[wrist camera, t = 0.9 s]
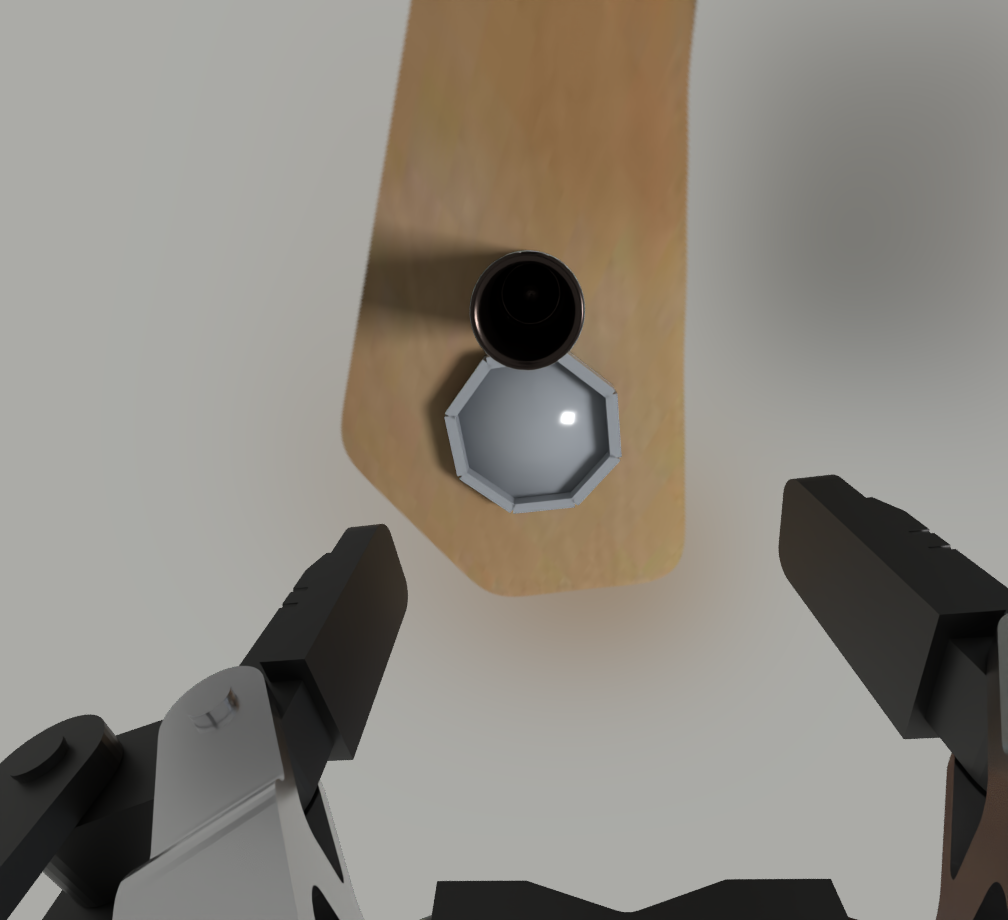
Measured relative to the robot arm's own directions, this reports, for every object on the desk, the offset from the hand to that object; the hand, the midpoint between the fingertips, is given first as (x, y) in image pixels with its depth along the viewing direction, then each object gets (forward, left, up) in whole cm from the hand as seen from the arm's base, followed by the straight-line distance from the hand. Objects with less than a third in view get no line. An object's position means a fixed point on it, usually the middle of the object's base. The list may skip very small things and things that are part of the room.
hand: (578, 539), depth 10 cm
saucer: (+5, -2, -21) cm, 22 cm away
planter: (-3, -1, -21) cm, 22 cm away
